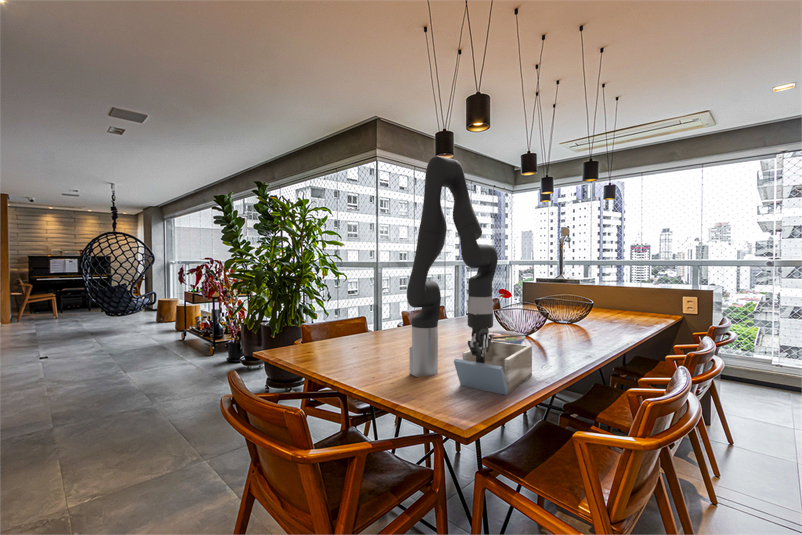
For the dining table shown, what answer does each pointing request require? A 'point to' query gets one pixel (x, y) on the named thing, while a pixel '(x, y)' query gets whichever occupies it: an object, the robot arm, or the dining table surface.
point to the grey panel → (481, 376)
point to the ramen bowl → (507, 336)
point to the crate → (508, 361)
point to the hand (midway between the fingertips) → (480, 368)
